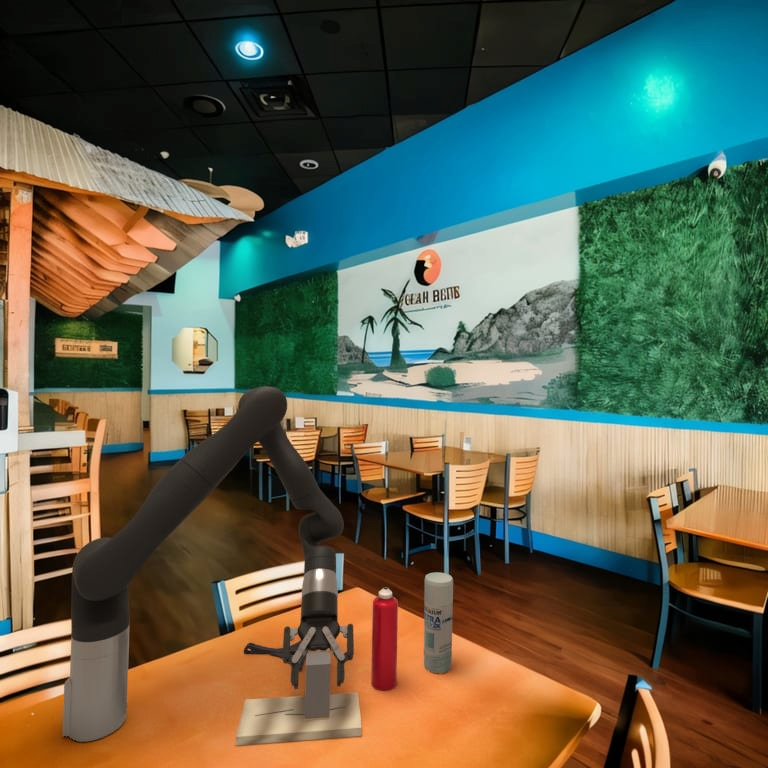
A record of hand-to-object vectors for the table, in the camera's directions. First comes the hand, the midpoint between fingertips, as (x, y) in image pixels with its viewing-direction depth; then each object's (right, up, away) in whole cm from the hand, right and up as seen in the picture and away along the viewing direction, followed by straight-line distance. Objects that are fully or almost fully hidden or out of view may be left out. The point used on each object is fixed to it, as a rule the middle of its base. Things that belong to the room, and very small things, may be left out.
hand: (317, 686), depth 86 cm
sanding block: (0, -6, +1) cm, 6 cm away
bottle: (+12, -8, +13) cm, 20 cm away
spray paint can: (+25, -8, +20) cm, 32 cm away
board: (-3, -7, +1) cm, 8 cm away
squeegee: (-13, -8, +24) cm, 29 cm away
